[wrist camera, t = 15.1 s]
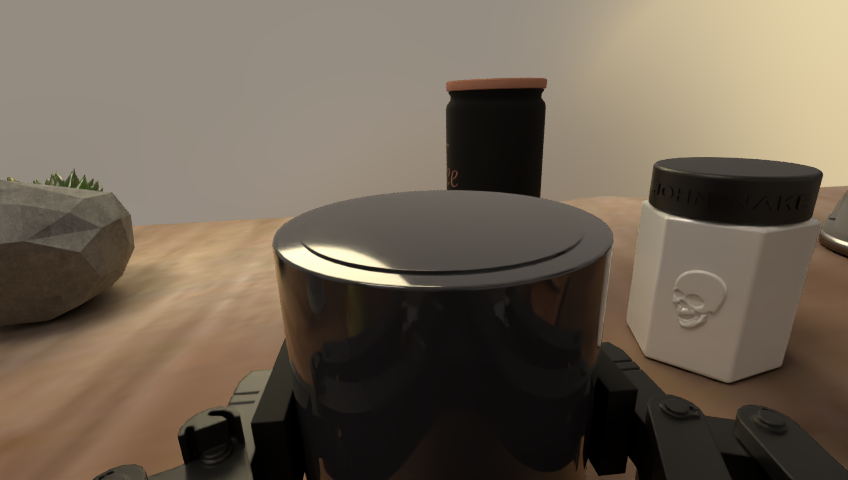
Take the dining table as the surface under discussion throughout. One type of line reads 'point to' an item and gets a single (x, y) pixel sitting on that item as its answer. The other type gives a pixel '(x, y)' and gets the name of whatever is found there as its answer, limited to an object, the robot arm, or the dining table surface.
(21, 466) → the dining table surface
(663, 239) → the jar
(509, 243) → the dark glossy canister
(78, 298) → the potted plant
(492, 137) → the coffee jar
